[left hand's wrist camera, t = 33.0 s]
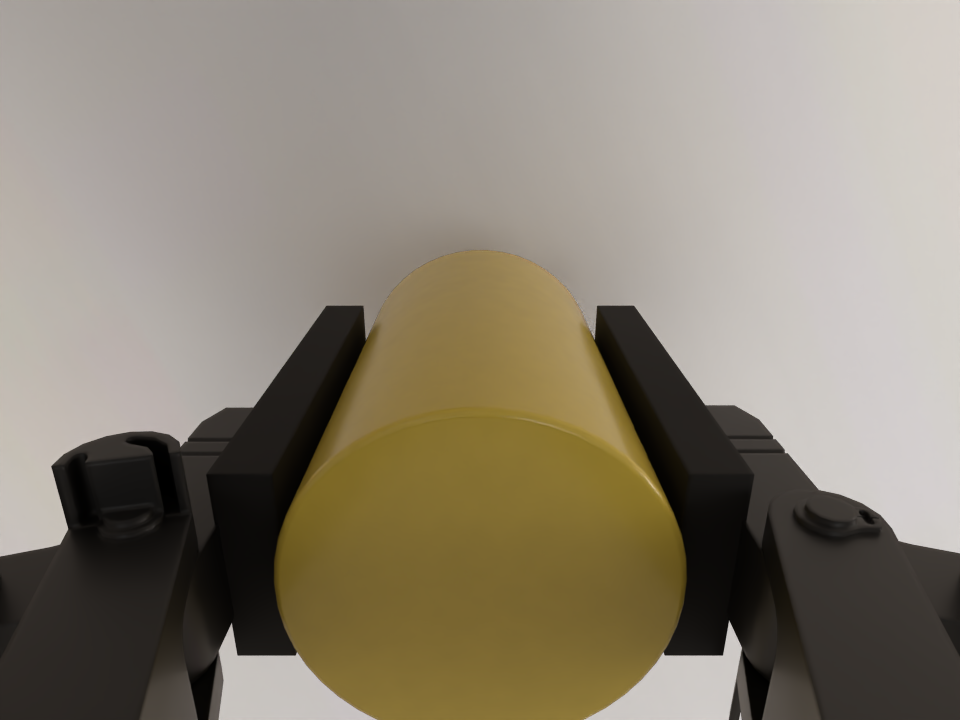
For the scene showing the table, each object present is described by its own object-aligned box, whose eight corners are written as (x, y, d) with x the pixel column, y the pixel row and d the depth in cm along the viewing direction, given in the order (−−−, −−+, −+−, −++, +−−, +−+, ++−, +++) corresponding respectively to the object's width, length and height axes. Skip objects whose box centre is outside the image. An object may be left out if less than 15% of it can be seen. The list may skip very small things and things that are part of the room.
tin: (453, 487, 16) (432, 795, 9) (326, 329, 14) (182, 551, 8) (629, 383, 15) (760, 639, 8) (511, 203, 13) (545, 322, 6)
